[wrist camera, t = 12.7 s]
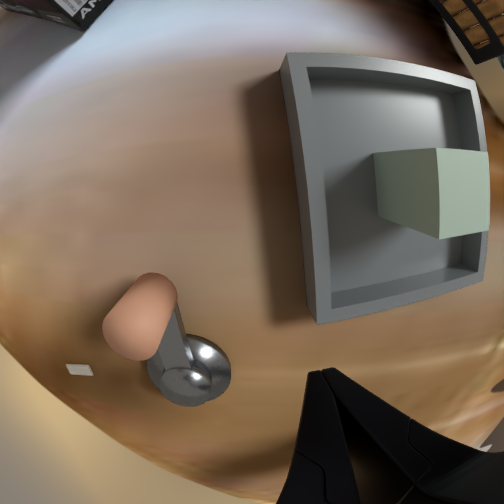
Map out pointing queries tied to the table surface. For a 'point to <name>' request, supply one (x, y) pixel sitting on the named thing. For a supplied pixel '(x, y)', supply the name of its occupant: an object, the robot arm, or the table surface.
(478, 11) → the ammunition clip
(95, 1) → the graphics card box
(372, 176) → the tray
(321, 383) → the robot arm
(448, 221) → the block
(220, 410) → the table surface
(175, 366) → the crank
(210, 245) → the table surface
